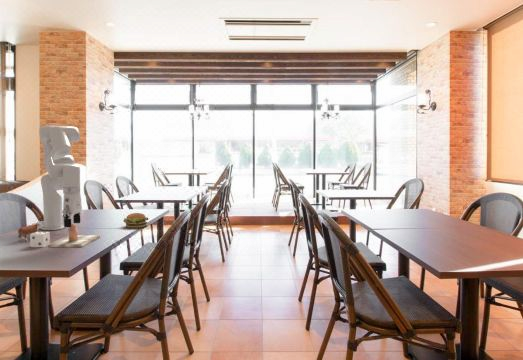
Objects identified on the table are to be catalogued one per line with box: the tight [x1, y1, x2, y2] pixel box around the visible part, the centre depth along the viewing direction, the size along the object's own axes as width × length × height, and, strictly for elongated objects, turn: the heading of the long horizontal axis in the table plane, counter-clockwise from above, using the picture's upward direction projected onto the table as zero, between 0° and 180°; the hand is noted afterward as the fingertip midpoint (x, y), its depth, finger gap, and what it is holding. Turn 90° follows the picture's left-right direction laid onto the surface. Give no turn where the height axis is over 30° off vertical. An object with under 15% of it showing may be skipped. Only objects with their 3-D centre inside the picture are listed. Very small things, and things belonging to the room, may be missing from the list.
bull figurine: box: [17, 221, 43, 242], centre depth 203 cm, size 4×13×8 cm, turn 161°
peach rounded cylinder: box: [67, 223, 79, 242], centre depth 196 cm, size 4×4×8 cm
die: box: [29, 231, 51, 248], centre depth 190 cm, size 6×6×6 cm
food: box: [122, 212, 149, 229], centre depth 240 cm, size 14×14×8 cm
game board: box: [47, 234, 101, 248], centre depth 198 cm, size 16×21×1 cm
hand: (72, 225), depth 196 cm, fingers open, 9 cm apart
